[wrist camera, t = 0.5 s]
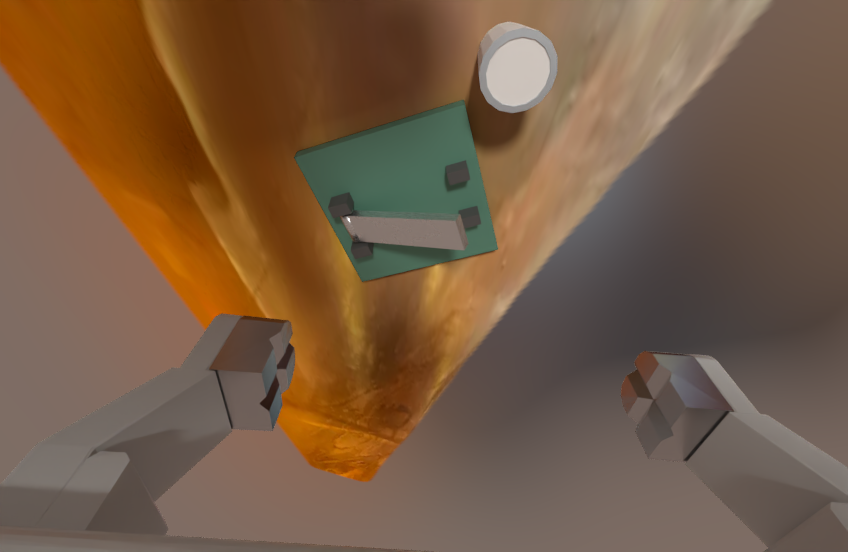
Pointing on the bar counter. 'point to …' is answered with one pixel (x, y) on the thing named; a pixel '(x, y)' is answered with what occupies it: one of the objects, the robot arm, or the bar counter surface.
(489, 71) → the white cylinder
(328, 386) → the bar counter surface
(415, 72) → the bar counter surface
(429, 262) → the board
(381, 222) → the steel strap
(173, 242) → the bar counter surface
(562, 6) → the bar counter surface
